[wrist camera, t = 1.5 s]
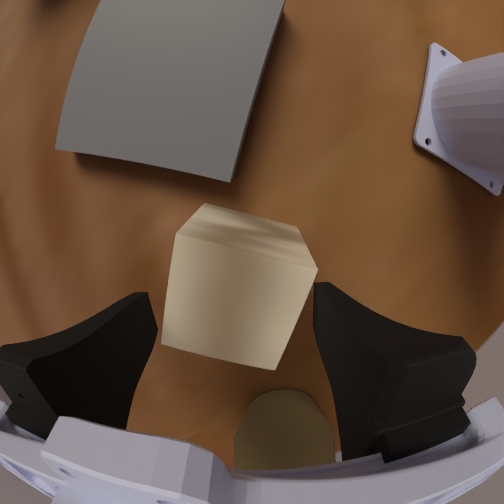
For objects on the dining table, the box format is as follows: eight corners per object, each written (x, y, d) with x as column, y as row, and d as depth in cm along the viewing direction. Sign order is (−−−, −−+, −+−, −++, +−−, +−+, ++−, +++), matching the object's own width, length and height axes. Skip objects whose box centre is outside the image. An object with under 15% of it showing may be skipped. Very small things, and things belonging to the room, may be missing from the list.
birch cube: (297, 226, 16) (318, 269, 10) (270, 305, 18) (274, 370, 12) (204, 202, 16) (176, 233, 10) (188, 285, 18) (161, 343, 12)
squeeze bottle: (337, 378, 20) (383, 581, 4) (313, 429, 23) (332, 584, 6) (239, 375, 20) (223, 602, 3) (233, 427, 23) (221, 590, 6)
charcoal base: (282, 14, 12) (286, -5, 9) (233, 177, 15) (229, 182, 13) (122, 3, 11) (106, -11, 8) (77, 147, 15) (54, 149, 12)
